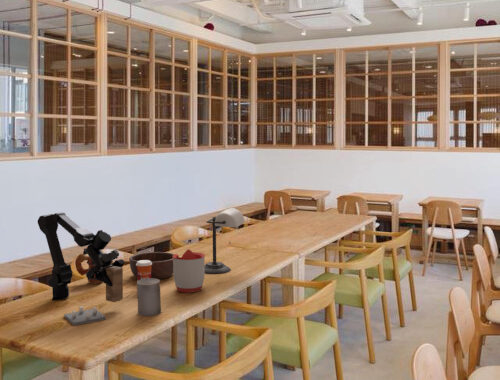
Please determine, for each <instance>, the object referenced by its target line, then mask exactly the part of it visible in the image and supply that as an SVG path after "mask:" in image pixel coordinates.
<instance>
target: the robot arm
mask: <svg viewBox="0 0 500 380" xmlns="http://www.w3.org/2000/svg"><path fill="white" fill-rule="evenodd" d="M37 225H38V228H39V230H40V232H42V233H43V234H44V235H45V239H46V242H47V245H48V249H49V253H50V257H51V261H52V264H53V266H52V269H51V275H52V277H50V279H49V280H48V285H49V286H48V287H52V289H51V290H52V298H51V300H53V301H54V300H59V301H60V300H67V299H68V298H69V296H70V286H68V285H69V284H71V282H72V279H73V273H74V272H73V270H72V267H71V266H72V265H71V264H68V263H66V262H65V261H66V260H65V259H64V255H63V251H62V247H61V244H60V241H59V237H58V233H57V232H58V228H59V225H60V226H61V227H62V228H63V229H64V230H66V232H68V233H69V234H70V235H71V236H72V237H73V241H74V242H75V243H76V245H78V247H80V248H81V247H82V248H83V247H85V248H83V252H82V254H83V255H86V256H89V257H90V258H91V260H92V263H91V264H92V265H94V264H95V266H94V267H91V268H90V269H89V271H88V272H87V273H86V274H85V277H86V278H87V281H88V280H90V279H93V278H94V274H95V276H96V277H95V278H94V279H95V280H96V279H97V280H99V281H101V283H103V284H105V285H106V284H107V285H109V286H111V287H112V286H113V284H112V282H111V281H110V279H109V277H108V276H107V274H106V268H109V267H113V266H116V267H121V268H123V266H124V265H126V262H125V260H124V259H123V258H119V256H120V252H119V251H118V250H117V249H113V250H111V251H110V252H109V253H107V252H103V251H102V250H104V249H106V247H107V246H108V244H109V243H111V240H112V236H111V234H109V233H107V232H106V231H103V229H100V230H97V231H96V234H94V233H93V232H91V231H90V230H88V229H85V228H82V227H81V226H79V225H78V224H77V223H76V222H75V221H73V220H72V219H71V218H70V217H69V216H67V215H66V213H65V212H63V211H60V212H56V213H50V214H45V215H40V216H39V217H38V219H37ZM118 258H119V259H118Z"/></svg>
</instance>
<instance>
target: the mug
mask: <svg viewBox="0 0 500 380" xmlns="http://www.w3.org/2000/svg"><path fill="white" fill-rule="evenodd" d="M85 261H86V264H87V265H88V268H84V267H83V266H82V265H83V264H82V263H84V262H85ZM91 263H92V260H91V258H90V257H89V256H88V255H87V254H86V255H83V253H80V254H78V255H77V257H76V258H75V262H74V264H75V265H74V266H75V269H76V271H77V272H78V274H79V275H81V276H85V275H86V273H87V272H88V271H89V269H90V268H91V267H94V266H95V264H94V265H92V264H91ZM95 277H96V276H95V274H94V278H95ZM94 278H93V279H90V280H88V279H87V282H88V283H90V284H92V285H93V284H95V285H96V284H101V283H102V282H101V281H99V280H97V279H96V280H95V279H94Z"/></svg>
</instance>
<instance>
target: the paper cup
mask: <svg viewBox="0 0 500 380" xmlns="http://www.w3.org/2000/svg"><path fill="white" fill-rule="evenodd" d="M136 265H137V276H138V278H137V281H138V280H141V279H146V278H151V265H152V262H151V261H149V260H140V261H137V264H136Z"/></svg>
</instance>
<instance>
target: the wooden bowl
mask: <svg viewBox="0 0 500 380" xmlns="http://www.w3.org/2000/svg"><path fill="white" fill-rule="evenodd" d="M174 254H175V253H171V252H167V251H166V252H165V251H162V252H161V251H151V252H140V253H136V254H132V255H131V256H130V257H129V258H128V260H129V266H130V271H131V273H132V275H133V276H134V278H136V279H138V276H137V265H136V264H137V261H140V260H149V261H151V262H152V265H151V278H155V279H159V280H163V279H168V278H171V276H174V275H173V257H172V256H173V255H174Z"/></svg>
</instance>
